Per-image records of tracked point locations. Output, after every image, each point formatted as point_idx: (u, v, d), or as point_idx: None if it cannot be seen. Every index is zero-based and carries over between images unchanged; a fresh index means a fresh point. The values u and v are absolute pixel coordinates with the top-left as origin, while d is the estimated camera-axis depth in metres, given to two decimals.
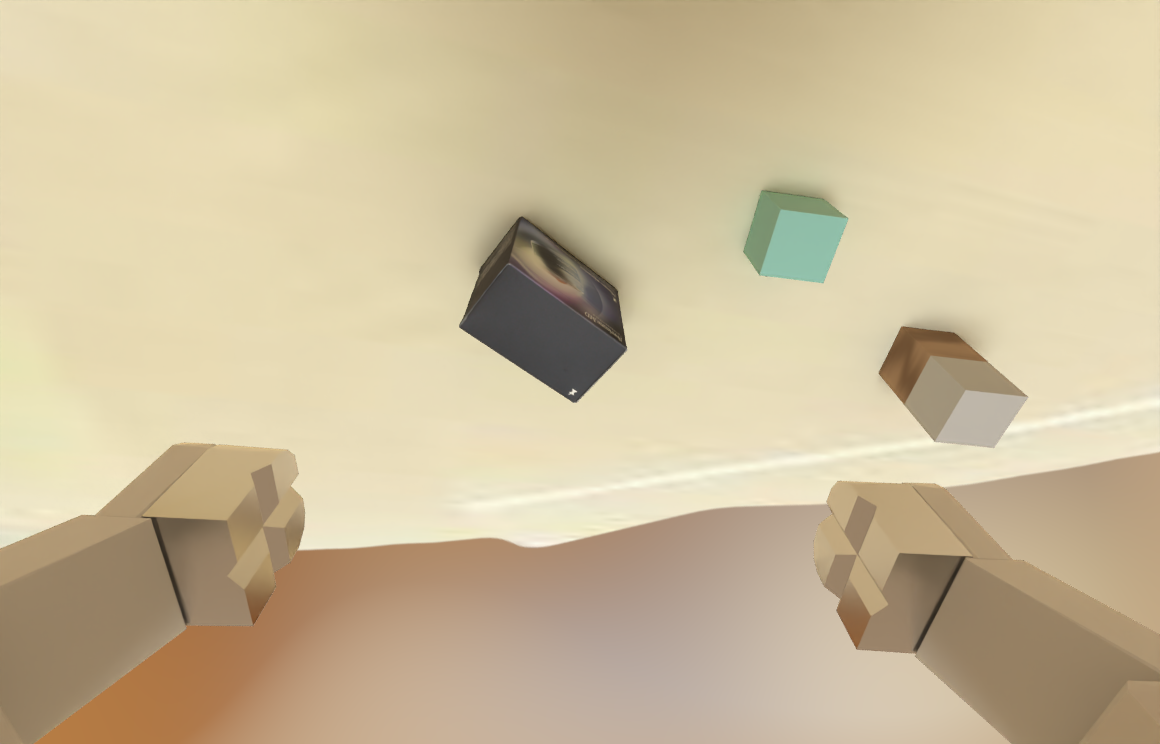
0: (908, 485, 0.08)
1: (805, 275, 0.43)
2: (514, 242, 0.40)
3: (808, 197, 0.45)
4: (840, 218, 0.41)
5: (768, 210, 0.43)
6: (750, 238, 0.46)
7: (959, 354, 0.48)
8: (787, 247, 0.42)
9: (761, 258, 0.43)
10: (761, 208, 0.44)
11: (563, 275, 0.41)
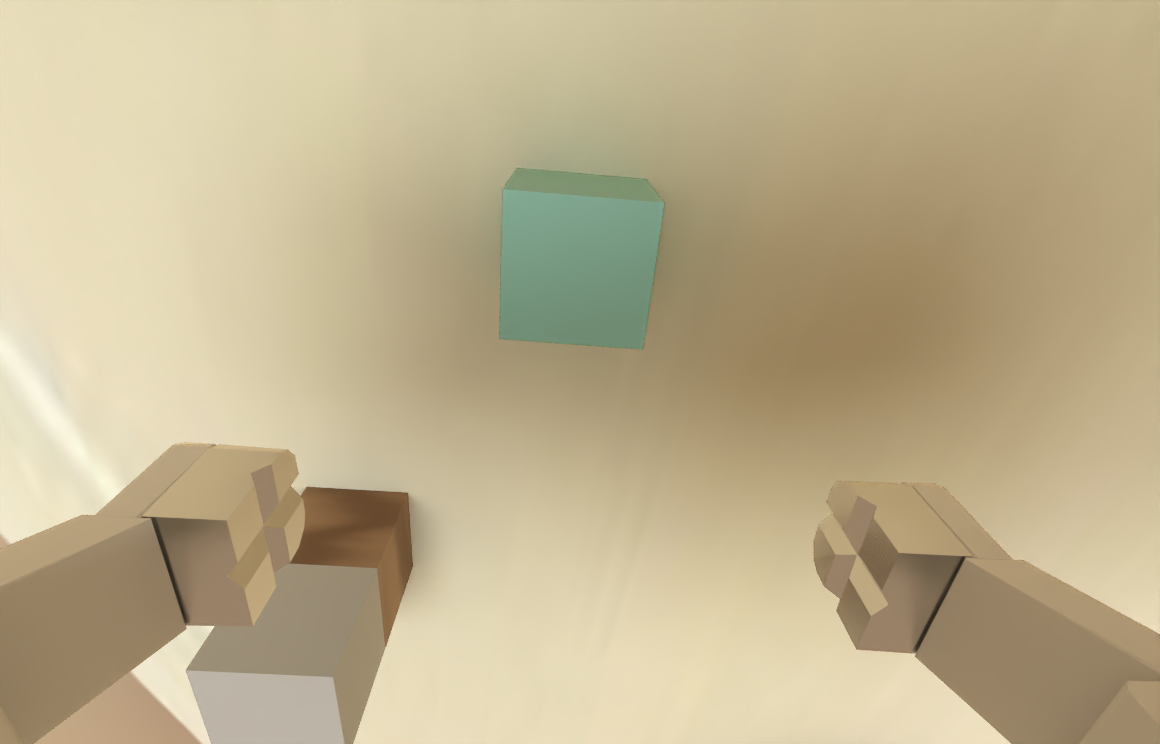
0: (908, 486, 0.08)
1: (513, 297, 0.19)
2: None
3: None
4: (643, 334, 0.20)
5: (633, 189, 0.20)
6: (552, 173, 0.21)
7: (387, 602, 0.26)
8: (577, 240, 0.18)
9: (539, 189, 0.18)
10: (621, 181, 0.21)
11: None
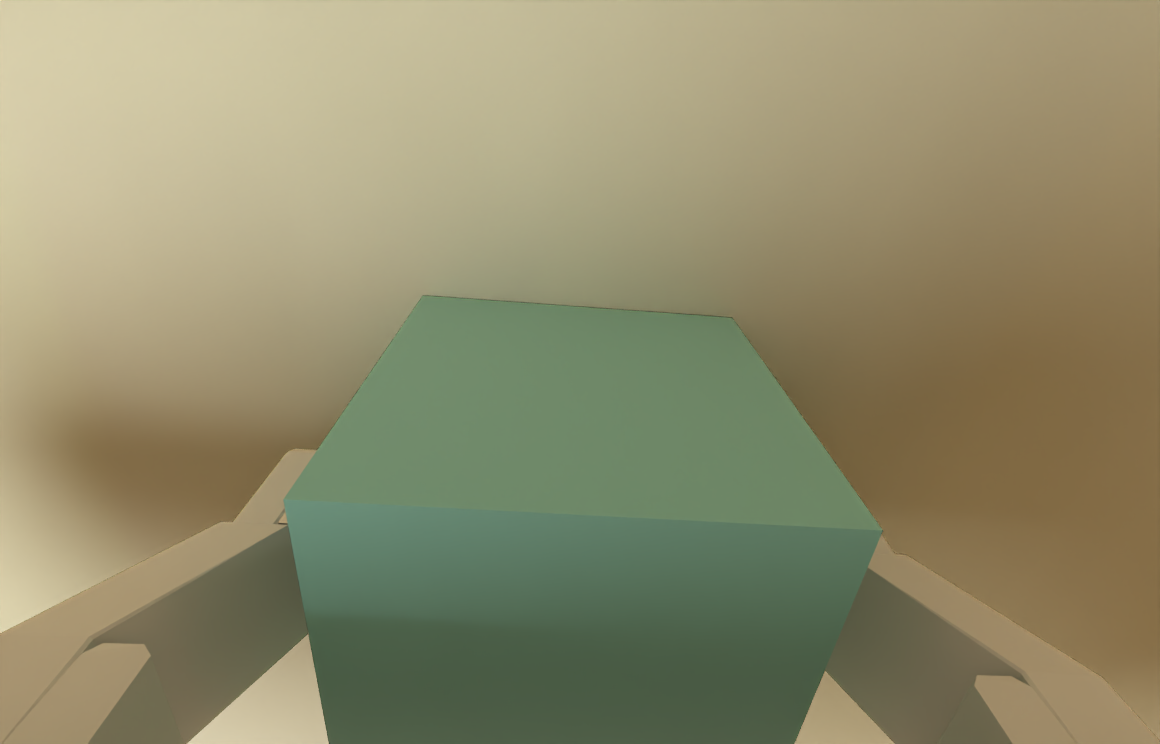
0: None
1: None
2: None
3: None
4: None
5: (730, 397, 0.07)
6: (505, 319, 0.08)
7: None
8: (567, 631, 0.05)
9: (434, 465, 0.05)
10: (680, 342, 0.08)
11: None
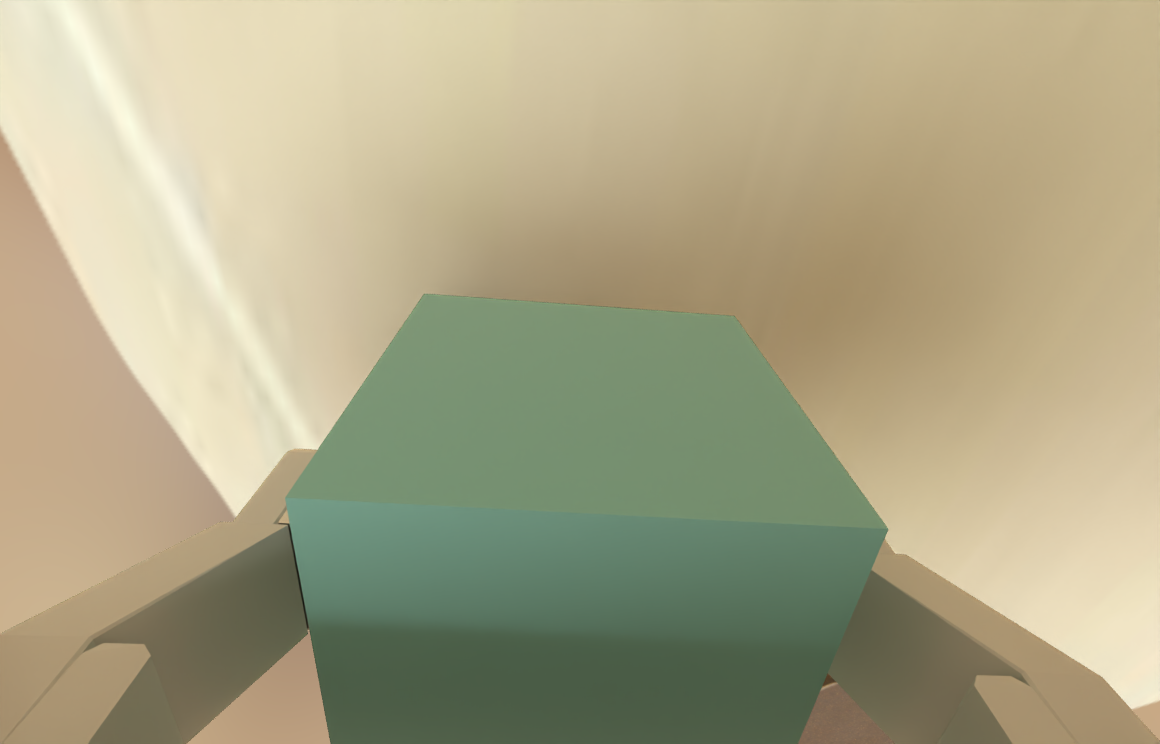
0: None
1: None
2: None
3: None
4: None
5: (733, 395, 0.07)
6: (506, 317, 0.08)
7: None
8: (570, 629, 0.05)
9: (437, 464, 0.05)
10: (682, 341, 0.08)
11: None
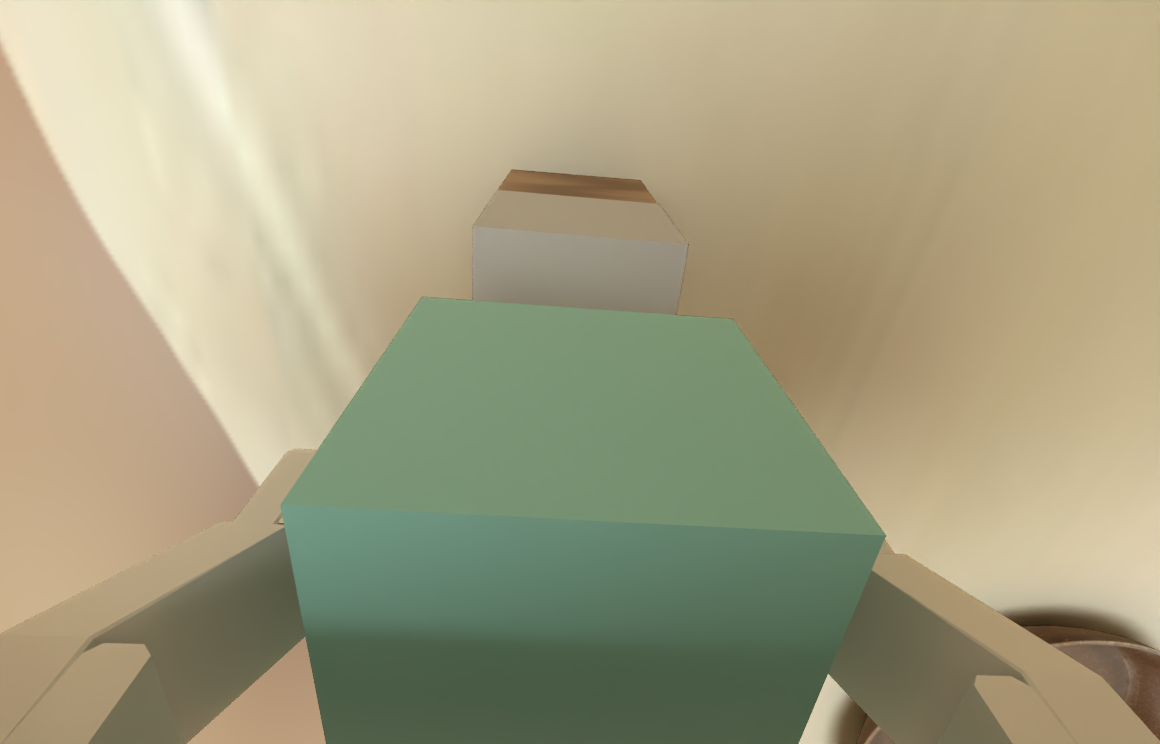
0: None
1: None
2: None
3: None
4: None
5: (731, 400, 0.07)
6: (504, 321, 0.08)
7: None
8: (568, 635, 0.05)
9: (433, 470, 0.05)
10: (681, 344, 0.08)
11: None
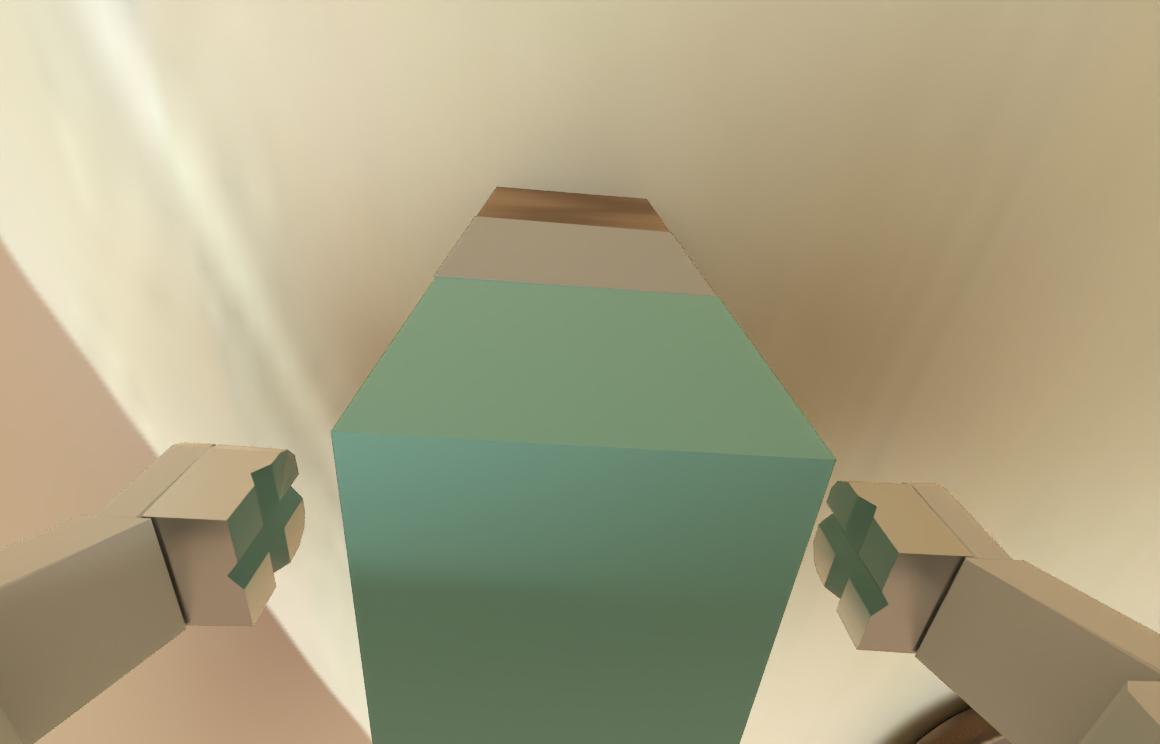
0: (908, 486, 0.08)
1: (397, 669, 0.07)
2: None
3: None
4: (739, 728, 0.08)
5: (712, 360, 0.08)
6: (511, 296, 0.09)
7: None
8: (569, 551, 0.06)
9: (455, 409, 0.06)
10: (670, 316, 0.09)
11: None
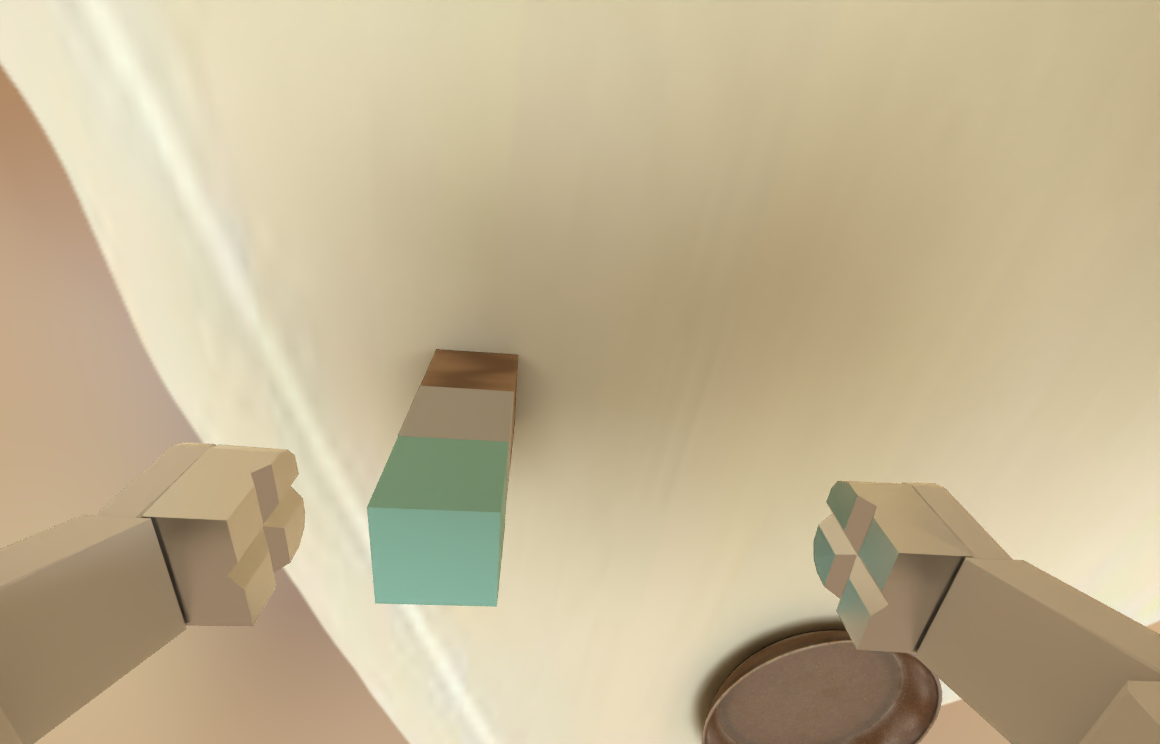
0: (907, 485, 0.08)
1: (383, 575, 0.23)
2: None
3: (505, 509, 0.28)
4: (495, 596, 0.24)
5: (486, 476, 0.24)
6: (425, 447, 0.25)
7: None
8: (432, 538, 0.22)
9: (400, 499, 0.22)
10: (482, 455, 0.25)
11: None
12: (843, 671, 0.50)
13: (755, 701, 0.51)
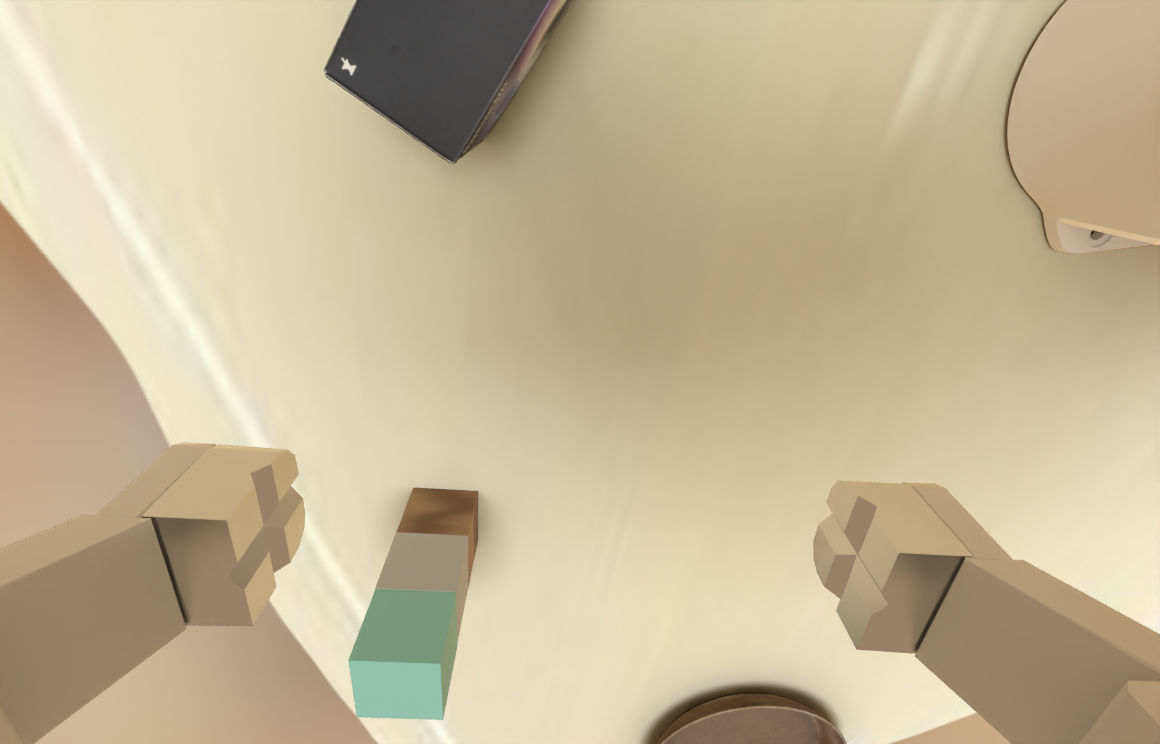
0: (908, 486, 0.08)
1: (361, 700, 0.33)
2: None
3: (456, 635, 0.38)
4: (441, 713, 0.34)
5: (435, 629, 0.34)
6: (394, 599, 0.35)
7: (469, 558, 0.43)
8: (394, 678, 0.32)
9: (371, 652, 0.32)
10: (435, 606, 0.35)
11: (542, 42, 0.26)
12: (766, 725, 0.59)
13: None
